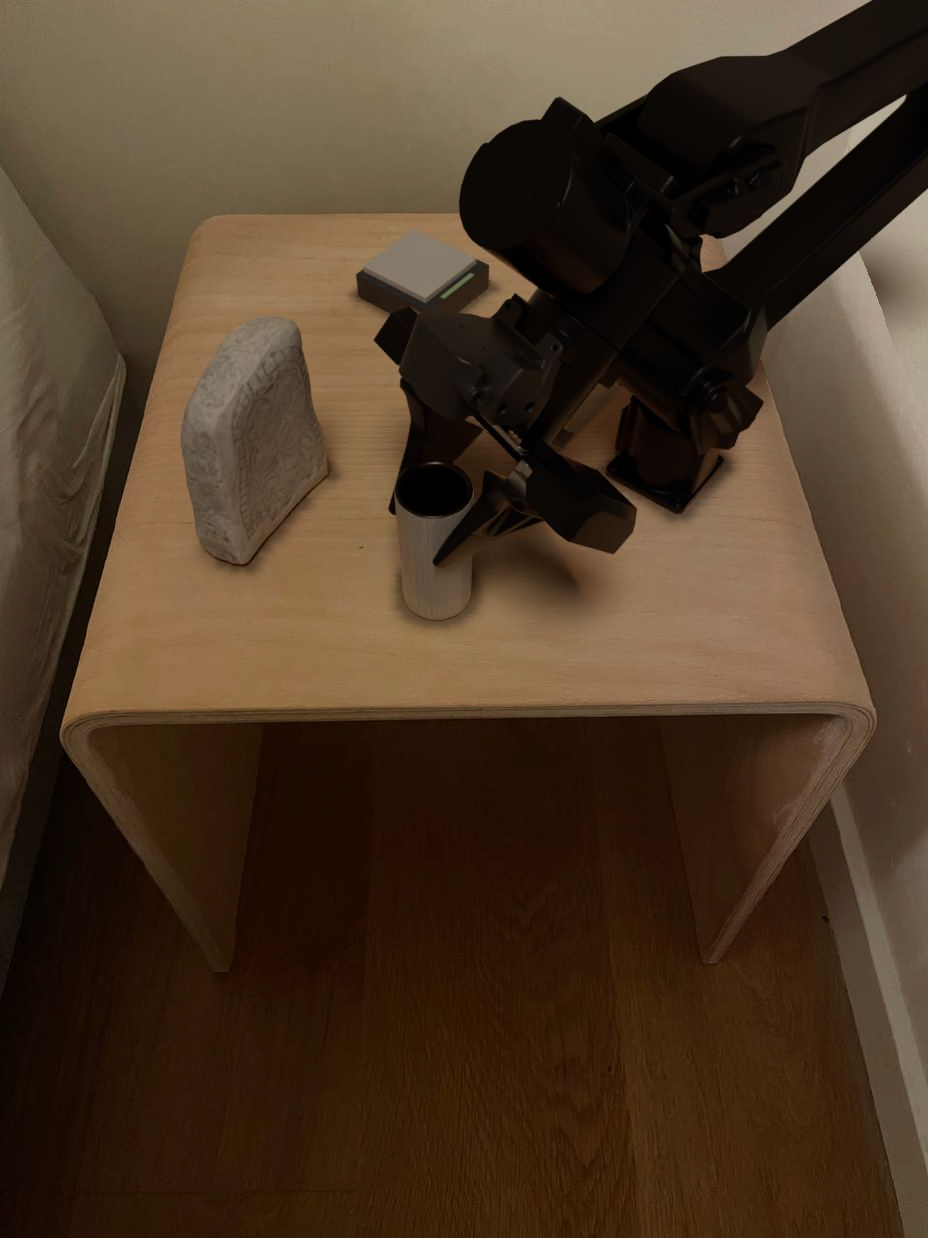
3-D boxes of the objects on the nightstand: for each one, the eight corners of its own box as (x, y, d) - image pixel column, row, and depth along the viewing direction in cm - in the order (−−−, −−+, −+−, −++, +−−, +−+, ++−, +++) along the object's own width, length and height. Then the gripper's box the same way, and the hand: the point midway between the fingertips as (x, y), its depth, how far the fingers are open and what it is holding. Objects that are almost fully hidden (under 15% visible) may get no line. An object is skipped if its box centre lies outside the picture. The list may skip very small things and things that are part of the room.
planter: (470, 622, 59) (473, 519, 50) (400, 620, 59) (391, 517, 50) (471, 566, 61) (474, 459, 53) (404, 564, 61) (396, 457, 53)
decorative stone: (256, 581, 60) (204, 414, 48) (183, 548, 62) (115, 378, 49) (342, 474, 66) (315, 299, 53) (273, 447, 67) (232, 270, 55)
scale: (488, 287, 78) (489, 258, 76) (430, 334, 74) (429, 305, 72) (417, 252, 81) (416, 223, 78) (357, 296, 77) (354, 267, 75)
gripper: (392, 168, 46) (239, 414, 52) (629, 374, 37) (415, 642, 43) (509, 254, 55) (369, 455, 61) (722, 436, 47) (535, 651, 52)
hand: (415, 539), depth 54 cm, fingers closed on planter, 4 cm apart
